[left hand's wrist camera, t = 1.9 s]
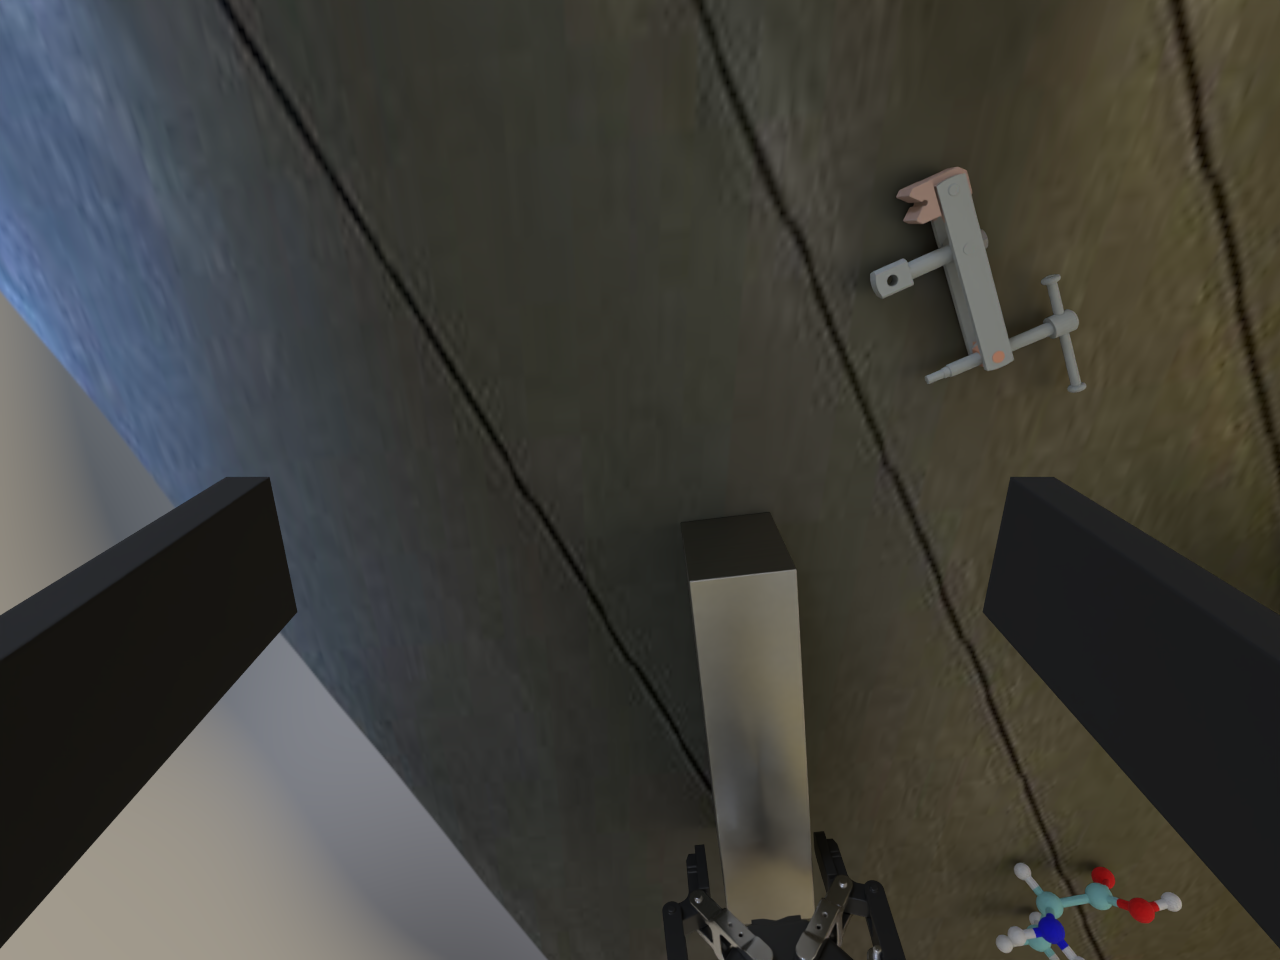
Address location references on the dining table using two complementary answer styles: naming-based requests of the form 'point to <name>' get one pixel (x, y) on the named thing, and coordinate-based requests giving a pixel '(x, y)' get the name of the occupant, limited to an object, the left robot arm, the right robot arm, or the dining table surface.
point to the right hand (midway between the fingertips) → (759, 846)
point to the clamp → (970, 278)
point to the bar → (752, 711)
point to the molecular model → (1051, 907)
